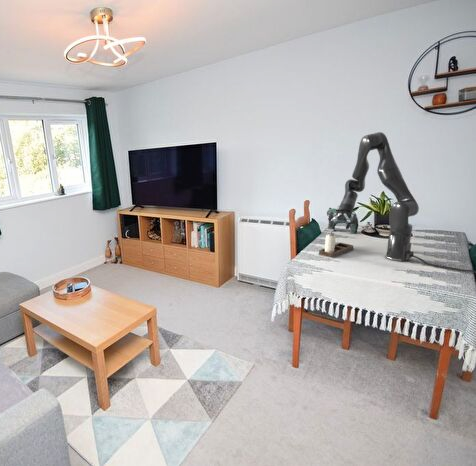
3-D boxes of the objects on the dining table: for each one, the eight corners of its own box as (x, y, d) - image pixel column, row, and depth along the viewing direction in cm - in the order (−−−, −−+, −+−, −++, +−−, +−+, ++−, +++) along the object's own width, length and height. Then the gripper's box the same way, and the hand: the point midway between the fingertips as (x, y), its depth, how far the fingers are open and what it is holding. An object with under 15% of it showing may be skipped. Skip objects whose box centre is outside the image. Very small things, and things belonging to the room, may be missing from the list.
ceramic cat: (324, 230, 237) (326, 205, 232) (328, 228, 241) (330, 203, 235) (355, 234, 221) (358, 207, 216) (358, 232, 225) (361, 205, 220)
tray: (353, 249, 194) (353, 245, 194) (332, 258, 184) (332, 253, 184) (339, 246, 201) (339, 242, 200) (318, 254, 191) (319, 250, 190)
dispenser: (335, 254, 189) (338, 229, 184) (331, 255, 186) (333, 230, 182) (327, 252, 193) (329, 227, 189) (322, 253, 191) (324, 229, 187)
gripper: (332, 202, 200) (324, 223, 196) (359, 203, 189) (350, 225, 185) (335, 208, 204) (327, 229, 200) (361, 210, 193) (353, 232, 189)
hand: (338, 227), depth 192 cm, fingers open, 8 cm apart
